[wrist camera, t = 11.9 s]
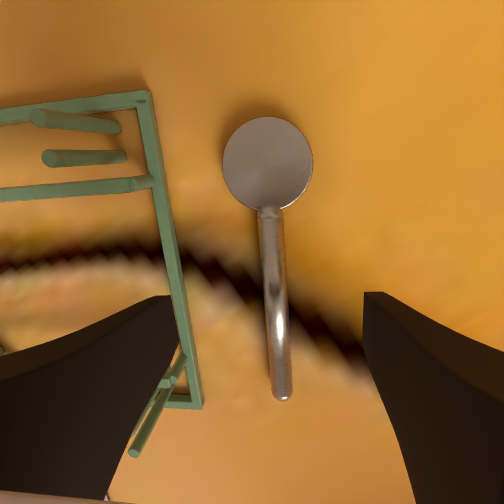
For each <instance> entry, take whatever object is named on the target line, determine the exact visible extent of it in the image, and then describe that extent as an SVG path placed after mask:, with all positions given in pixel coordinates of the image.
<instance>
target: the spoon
mask: <svg viewBox="0 0 504 504" xmlns="http://www.w3.org/2000/svg"><path fill="white" fill-rule="evenodd" d="M222 171H223V176H224V180H225V183H226V185H227V187H228V189H229V190H230V192H231V193H232V195H233V196H234V197H235V198H236V199H237V200H238V201H239V202H241V203H242V204H243V205H245V206H247V207H249V208H251V209H254V210H258V213H257V221H258V233H259V245H260V257H261V269H262V281H263V293H264V305H265V317H266V329H267V341H268V353H269V365H270V377H271V389H272V394H273V396H274V397H275V398H276V399H277V400H279V401H286V400H288V399H289V398H290V397H291V396H292V393H293V384H292V366H291V348H290V330H289V312H288V294H287V275H286V257H285V239H284V221H283V212H282V209H283V208H286V207H288V206H289V205H291V204H293V203H294V202H295V201H296V200H298V199H299V198H300V197H301V195H302V194H303V193H304V192H305V190H306V188H307V187H308V184H309V182H310V179H311V176H312V171H313V155H312V151H311V148H310V145H309V143H308V141H307V139H306V137H305V136H304V134H303V133H302V132H301V131H300V130H299V129H298V128H297V127H296V126H295V125H293V124H292V123H290V122H289V121H286V120H284V119H281V118H278V117H270V116H267V117H259V118H255V119H252V120H250V121H248V122H246V123H244V124H243V125H241V126H240V127H239V128H238V129H237V130H236V131H235V132H234V133H233V134H232V135H231V137H230V139H229V140H228V142H227V144H226V146H225V149H224V153H223V158H222Z"/></svg>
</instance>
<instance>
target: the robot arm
mask: <svg viewBox="0 0 504 504" xmlns="http://www.w3.org/2000/svg"><path fill="white" fill-rule="evenodd" d="M178 343H179V336H178V331H177V326H176V320H175V315H174V310H173V304H172V299H171V295H165V296H153V297H150V298H148V299H145V300H143V301H141V302H139V303H136V304H134V305H132V306H130V307H128V308H126V309H124V310H122V311H120V312H118V313H115V314H113V315H111V316H109V317H107V318H105V319H103V320H100V321H98V322H96V323H94V324H92V325H89V326H87V327H85V328H83V329H80V330H78V331H76V332H73V333H71V334H68V335H65V336H63V337H60V338H57V339H55V340H52V341H49V342H46V343H43V344H40V345H37V346H34V347H31V348H27V349H24V350H21V351H18V352H14V353H11V354H8V355H4V356H1V357H0V504H134V503H123V502H113V501H109V500H108V498H107V495H106V494H107V491H108V488H109V486H110V484H111V481H112V479H113V476H114V474H115V472H116V469H117V467H118V464H119V462H120V459H121V457H122V455H123V453H124V450H125V448H126V446H127V444H128V441H129V439H130V437H131V435H132V432H133V430H134V428H135V426H136V424H137V422H138V420H139V418H140V416H141V415H142V413H143V411H144V409H145V408H146V406H147V404H148V402H149V401H150V399H151V397H152V395H153V394H154V392H155V390H156V388H157V387H158V385H159V383H160V381H161V380H162V378H163V376H164V374H165V372H166V371H167V369H168V367H169V365H170V363H171V361H172V358H173V356H174V354H175V351H176V348H177V346H178ZM362 343H363V347H364V351H365V355H366V359H367V362H368V366H369V369H370V372H371V374H372V377H373V379H374V382H375V384H376V387H377V389H378V392H379V394H380V396H381V399H382V401H383V404H384V406H385V409H386V411H387V414H388V416H389V419H390V421H391V423H392V426H393V428H394V431H395V434H396V437H397V440H398V442H399V446H400V449H401V452H402V456H403V459H404V462H405V466H406V469H407V472H408V476H409V479H410V483H411V486H412V490H413V494H414V497H415V501H416V504H504V352H502V351H500V350H497V349H495V348H492V347H490V346H487V345H485V344H483V343H480V342H478V341H475V340H473V339H471V338H468V337H466V336H464V335H462V334H460V333H457V332H455V331H453V330H451V329H449V328H447V327H445V326H443V325H441V324H439V323H437V322H436V321H434V320H432V319H430V318H428V317H426V316H425V315H423V314H421V313H419V312H418V311H416V310H414V309H412V308H411V307H409V306H407V305H406V304H404V303H402V302H401V301H399V300H397V299H396V298H394V297H392V296H390V295H388V294H387V293H384V292H364V308H363V336H362Z"/></svg>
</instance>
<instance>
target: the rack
mask: <svg viewBox="0 0 504 504" xmlns="http://www.w3.org/2000/svg"><path fill="white" fill-rule="evenodd" d="M134 108H136V109H137V114H138V119H139V124H140V130H141V135H142V140H143V146H144V151H145V156H146V162H147V167H148V172H149V174H147V175H140V176H134V177H123V178H112V179H100V180H88V181H76V182H64V183H53V184H41V185H29V186H17V187H5V188H0V202H12V201H25V200H38V199H51V198H64V197H78V196H91V195H104V194H117V193H128V192H134V191H138V190H142V189H146V188H150V187H151V188H152V193H153V199H154V204H155V209H156V215H157V220H158V225H159V230H160V236H161V241H162V246H163V252H164V257H165V262H166V267H167V273H168V278H169V283H170V289H171V294H172V299H173V305H174V310H175V315H176V320H177V326H178V331H179V336H180V342H181V347H182V351H181V352H180V354H179V356H178V358H177V359H176V361H175V363H174V365H173V366H172V368H170V366H169V367H168V369H167V371H166V372H165V374H164V376H163V378H162V380H161V381H160V383H159V385H158V387H157V388H156V390H155V392H154V394H153V395H152V397H151V399H150V401H149V402H148V404H147V406H146V408H145V409H144V411H143V413H142V415H141V416H140V418H139V420H138V422H137V424H136V426H135V428H134V430H133V432H132V435H131V437H132V436H134V434H135V432H136V431H137V429H138V427H139V425H140V423H141V422H142V420H143V418H144V416H145V415H146V413H147V411H148V409H149V408H150V407H152V408H151V410H150V412H149V414H148V416H147V417H146V419H145V421H144V423H143V425H142V426H141V428H140V430H139V432H138V434H137V435H136V437H135V439H134V441H133V443H132V444H131V446H130V448H129V450H128V454H129V455H130V456H131V457H134V458H136V457H138V456H139V455H140V453H141V451H142V449H143V447H144V445H145V443H146V442H147V440H148V438H149V436H150V434H151V432H152V430H153V428H154V426H155V424H156V422H157V420H158V418H159V416H160V414H161V412H162V410H163V408H176V409H197V410H202V408H203V405H204V403H205V402H204V396H203V391H202V385H201V379H200V373H199V367H198V361H197V356H196V350H195V344H194V338H193V332H192V327H191V321H190V315H189V309H188V303H187V298H186V292H185V286H184V280H183V274H182V268H181V263H180V257H179V251H178V245H177V239H176V234H175V228H174V222H173V216H172V210H171V205H170V199H169V193H168V187H167V181H166V175H165V170H164V164H163V158H162V152H161V146H160V141H159V135H158V129H157V123H156V117H155V112H154V106H153V100H152V94H151V92H150V91H147V90H145V89H144V90H137V91H129V92H122V93H114V94H107V95H99V96H92V97H84V98H77V99H70V100H62V101H55V102H47V103H40V104H32V105H25V106H17V107H10V108H2V109H0V125H5V124H13V123H21V122H29V121H31V122H32V123H33V124H34V125H35V126H37V127H42V128H52V129H62V130H73V131H83V132H93V133H104V134H114V135H117V134H119V133H120V131H121V127H120V125H119V123H118V122H116V121H112V120H107V119H101V118H95V117H89V116H84V115H86V114H94V113H102V112H110V111H118V110H126V109H134ZM126 159H127V156H126V154H125V152H123V151H121V150H52V149H48V150H45V151H44V152H43V153H42V160H43V162H44V164H45V165H46V166H48V167H51V168H57V167H72V166H88V165H103V164H119V163H124V162H125V161H126ZM3 352H4V349H3V347H1V346H0V357H1V356H2V353H3ZM184 367H185V368H186V373H187V379H188V384H189V389H190V395H178V394H171V393H172V391H173V389H174V384H175V383H176V382H177V381H178V379H179V377H180V375H181V373H182V371H183V369H184ZM160 388H163V389H162V391H161V392H160V394H158V392H159V390H160Z"/></svg>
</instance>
